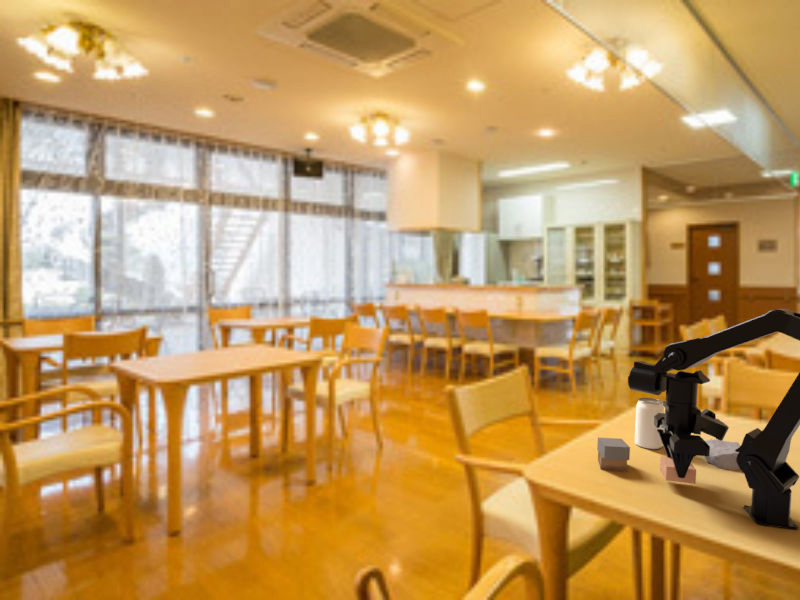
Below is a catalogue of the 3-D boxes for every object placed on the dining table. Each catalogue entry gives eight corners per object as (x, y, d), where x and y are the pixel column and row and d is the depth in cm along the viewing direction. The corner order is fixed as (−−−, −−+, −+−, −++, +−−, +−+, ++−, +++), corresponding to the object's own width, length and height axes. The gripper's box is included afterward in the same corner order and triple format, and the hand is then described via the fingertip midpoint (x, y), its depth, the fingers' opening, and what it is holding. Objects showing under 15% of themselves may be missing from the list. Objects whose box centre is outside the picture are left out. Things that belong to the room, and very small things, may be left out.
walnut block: (626, 472, 110) (627, 460, 109) (600, 470, 111) (601, 457, 111) (622, 463, 115) (622, 451, 115) (597, 460, 116) (598, 448, 116)
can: (647, 451, 122) (649, 404, 121) (628, 442, 128) (630, 398, 127) (668, 448, 124) (670, 403, 123) (648, 439, 130) (651, 396, 129)
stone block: (715, 476, 112) (762, 471, 110) (711, 456, 112) (758, 451, 110) (693, 458, 124) (736, 453, 122) (690, 440, 124) (732, 435, 122)
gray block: (629, 460, 109) (630, 447, 109) (604, 458, 110) (604, 446, 110) (621, 450, 115) (621, 438, 115) (597, 449, 116) (597, 437, 115)
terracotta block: (695, 484, 99) (696, 470, 99) (665, 480, 101) (666, 466, 101) (688, 473, 105) (688, 459, 104) (660, 469, 106) (660, 456, 106)
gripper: (742, 417, 90) (738, 497, 91) (709, 392, 108) (705, 459, 109) (676, 411, 93) (672, 489, 95) (654, 388, 111) (651, 453, 112)
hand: (677, 471), depth 103 cm, fingers closed on terracotta block, 5 cm apart
